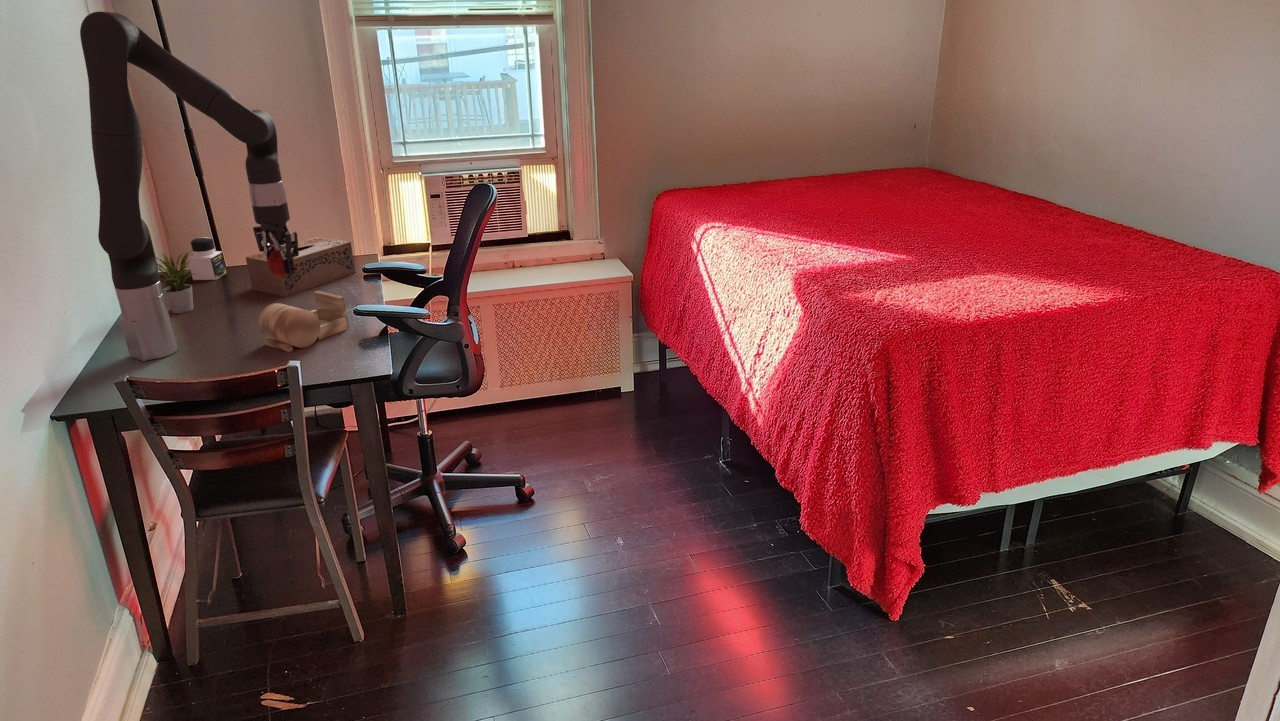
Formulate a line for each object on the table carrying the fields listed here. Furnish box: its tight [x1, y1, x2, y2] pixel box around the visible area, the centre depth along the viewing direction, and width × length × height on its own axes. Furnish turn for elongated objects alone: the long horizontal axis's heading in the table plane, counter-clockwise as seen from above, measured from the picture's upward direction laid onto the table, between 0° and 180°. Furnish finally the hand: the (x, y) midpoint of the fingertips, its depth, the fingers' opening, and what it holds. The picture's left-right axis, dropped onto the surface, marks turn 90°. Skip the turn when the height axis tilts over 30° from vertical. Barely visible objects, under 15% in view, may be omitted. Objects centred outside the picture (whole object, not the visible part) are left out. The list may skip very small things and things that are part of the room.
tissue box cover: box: [245, 236, 357, 297], centre depth 248 cm, size 26×14×10 cm, turn 149°
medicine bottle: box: [187, 236, 227, 281], centre depth 254 cm, size 7×7×12 cm
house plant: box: [156, 249, 197, 314], centre depth 226 cm, size 14×14×16 cm
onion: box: [267, 248, 294, 278], centre depth 197 cm, size 6×6×8 cm
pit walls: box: [310, 290, 350, 341], centre depth 210 cm, size 10×12×8 cm
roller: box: [258, 302, 320, 353], centre depth 201 cm, size 11×9×9 cm
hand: (282, 271), depth 198 cm, fingers closed on onion, 5 cm apart
